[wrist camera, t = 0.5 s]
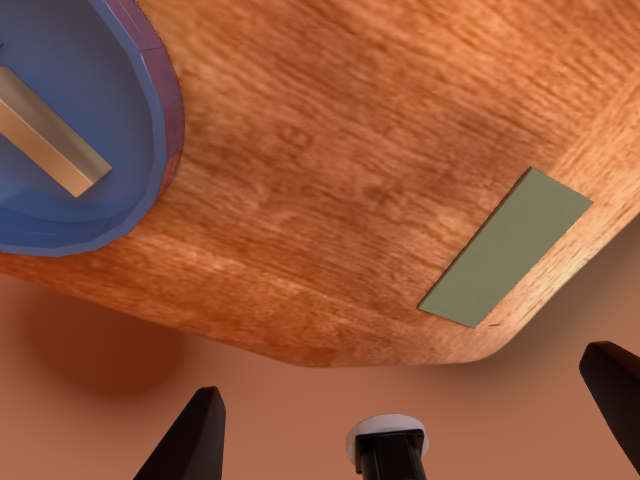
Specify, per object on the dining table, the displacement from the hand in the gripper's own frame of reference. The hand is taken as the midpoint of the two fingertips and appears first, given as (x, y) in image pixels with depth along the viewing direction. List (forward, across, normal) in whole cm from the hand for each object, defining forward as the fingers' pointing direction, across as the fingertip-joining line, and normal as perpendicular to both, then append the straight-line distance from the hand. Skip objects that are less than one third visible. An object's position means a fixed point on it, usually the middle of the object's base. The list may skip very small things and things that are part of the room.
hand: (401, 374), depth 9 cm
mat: (+15, -11, +9) cm, 21 cm away
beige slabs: (+15, +16, -5) cm, 22 cm away
